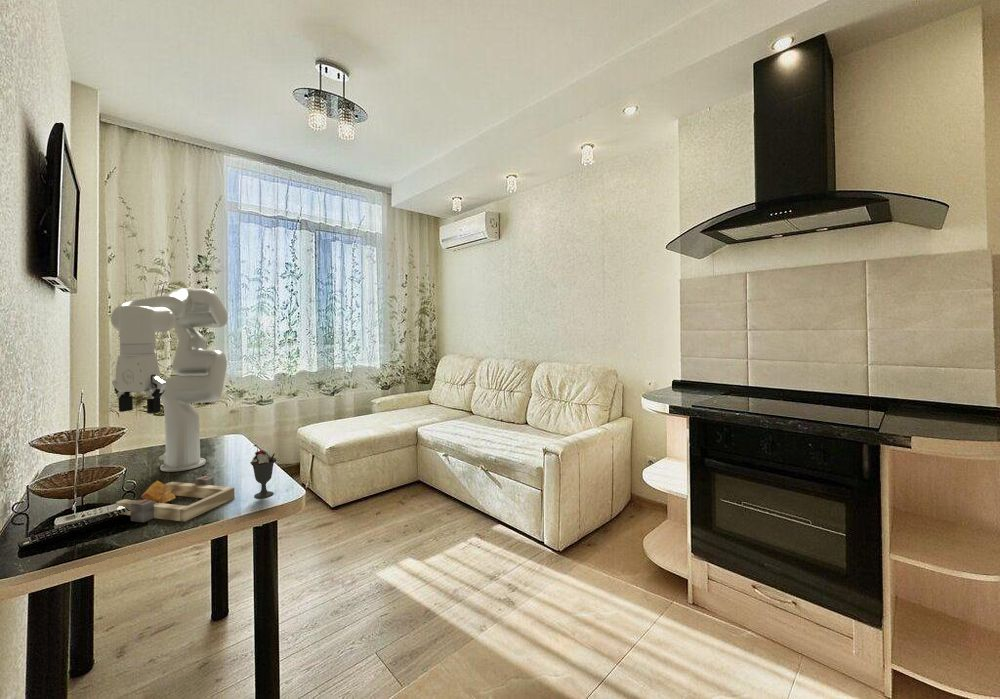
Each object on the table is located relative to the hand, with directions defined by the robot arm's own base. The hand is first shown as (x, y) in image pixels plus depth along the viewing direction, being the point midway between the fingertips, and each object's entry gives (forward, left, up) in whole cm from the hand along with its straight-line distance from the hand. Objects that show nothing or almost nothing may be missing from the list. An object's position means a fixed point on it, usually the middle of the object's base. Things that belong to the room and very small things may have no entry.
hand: (139, 411), depth 116 cm
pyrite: (+7, -1, -25) cm, 26 cm away
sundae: (+31, +10, -25) cm, 41 cm away
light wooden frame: (+13, -1, -25) cm, 28 cm away
